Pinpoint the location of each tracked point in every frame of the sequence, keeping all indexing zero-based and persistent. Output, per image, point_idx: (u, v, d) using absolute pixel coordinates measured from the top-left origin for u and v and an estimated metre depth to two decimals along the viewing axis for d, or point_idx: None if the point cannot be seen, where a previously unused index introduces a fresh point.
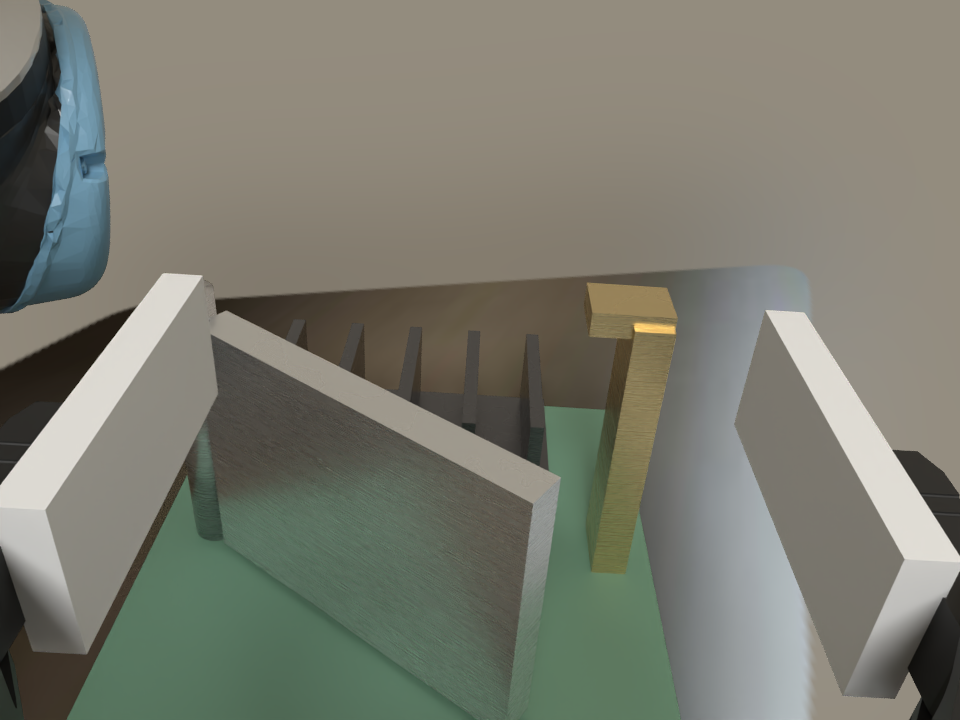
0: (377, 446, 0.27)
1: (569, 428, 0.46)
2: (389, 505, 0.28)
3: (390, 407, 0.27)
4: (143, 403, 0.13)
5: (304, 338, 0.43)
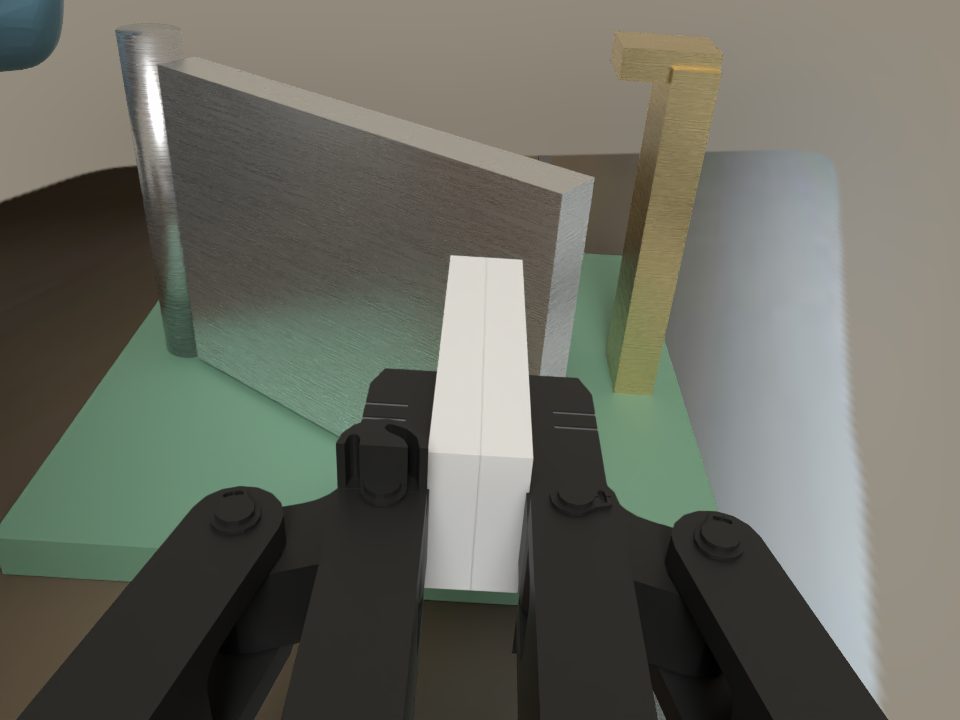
0: (372, 168, 0.23)
1: (584, 270, 0.42)
2: (386, 249, 0.24)
3: (387, 124, 0.23)
4: None
5: None
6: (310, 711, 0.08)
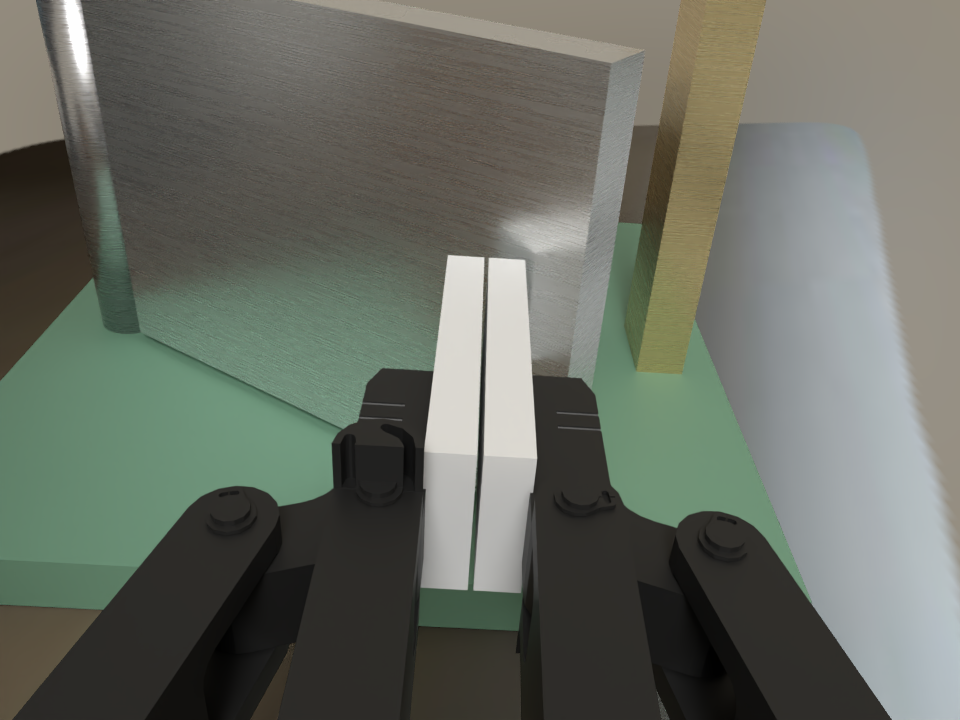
0: (351, 59, 0.18)
1: None
2: (371, 168, 0.19)
3: (369, 5, 0.18)
4: None
5: None
6: (306, 711, 0.08)
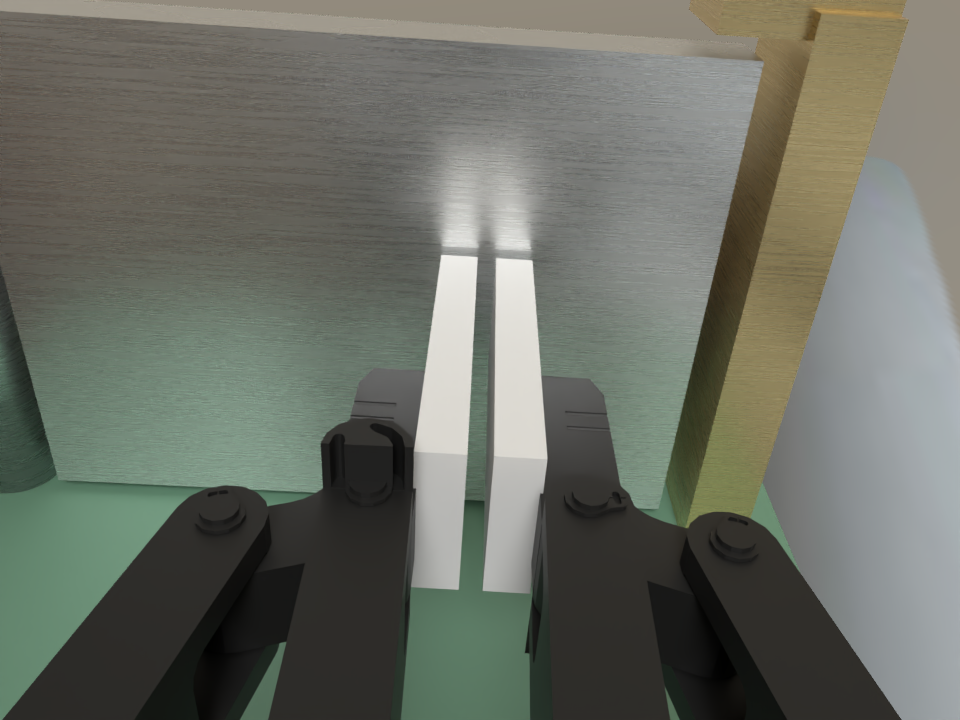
0: (439, 93, 0.16)
1: None
2: (461, 208, 0.17)
3: (432, 29, 0.16)
4: None
5: None
6: (297, 711, 0.08)
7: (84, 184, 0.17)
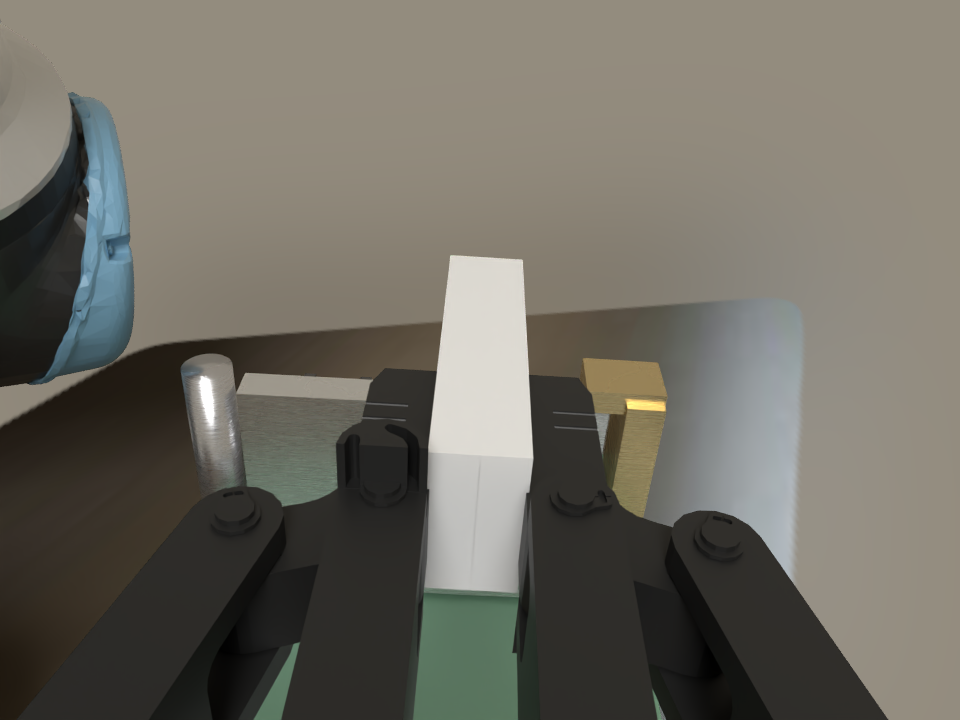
0: None
1: None
2: None
3: None
4: None
5: None
6: (310, 711, 0.08)
7: (293, 458, 0.35)
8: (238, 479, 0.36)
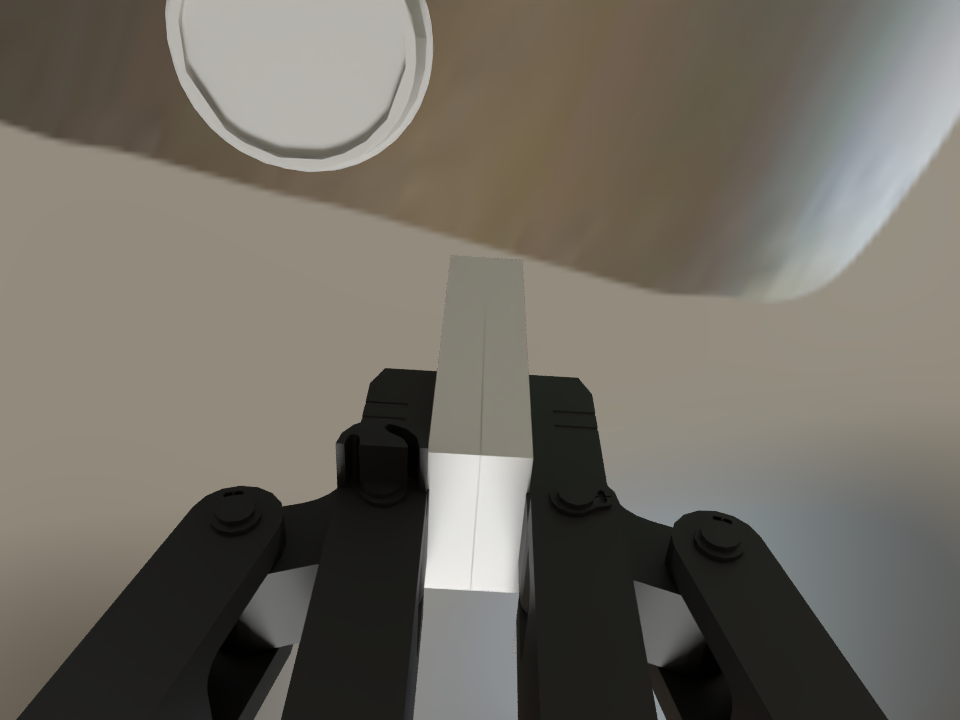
0: None
1: None
2: None
3: None
4: None
5: None
6: (310, 711, 0.08)
7: None
8: None
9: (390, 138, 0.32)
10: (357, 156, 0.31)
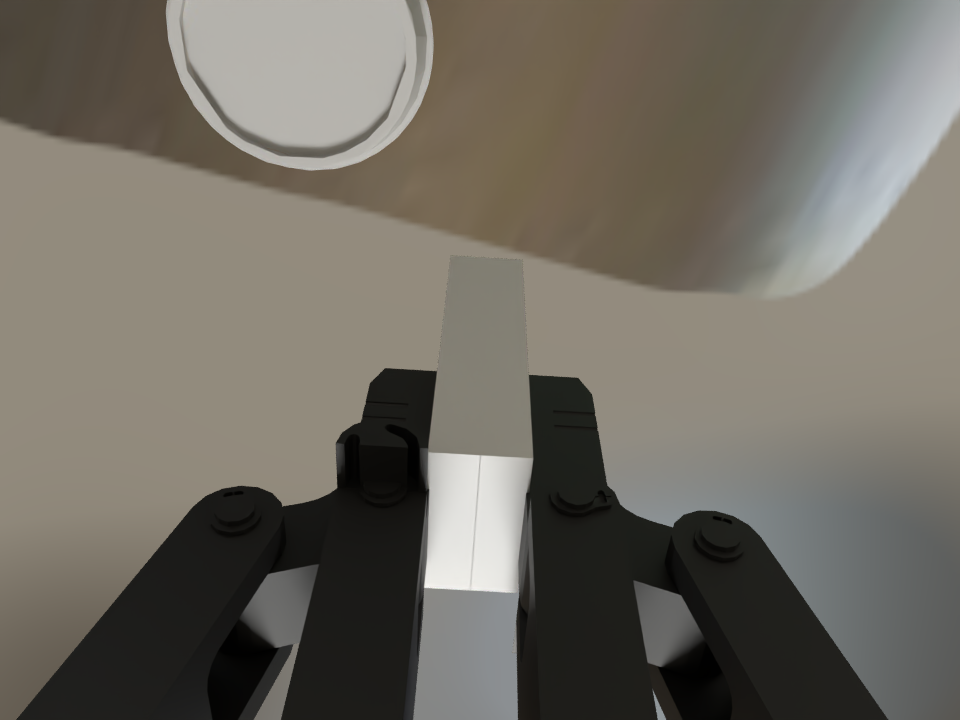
0: None
1: None
2: None
3: None
4: None
5: None
6: (310, 711, 0.08)
7: None
8: None
9: (391, 136, 0.32)
10: (358, 155, 0.31)
